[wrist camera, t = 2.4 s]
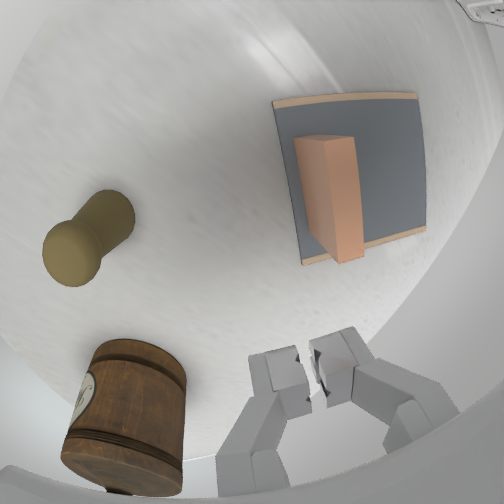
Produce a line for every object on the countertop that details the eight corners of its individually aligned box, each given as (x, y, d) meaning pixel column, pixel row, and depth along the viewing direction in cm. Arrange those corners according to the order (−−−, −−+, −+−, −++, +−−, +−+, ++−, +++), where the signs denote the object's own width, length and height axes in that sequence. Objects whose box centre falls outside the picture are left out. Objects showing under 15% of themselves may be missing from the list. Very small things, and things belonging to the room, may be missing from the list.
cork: (130, 185, 25) (85, 218, 15) (139, 241, 28) (106, 297, 18) (80, 194, 25) (22, 230, 15) (91, 246, 27) (46, 300, 17)
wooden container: (81, 333, 32) (29, 468, 12) (182, 341, 34) (174, 505, 14) (107, 396, 38) (86, 506, 18) (190, 403, 40) (192, 524, 20)
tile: (316, 134, 25) (353, 136, 18) (329, 225, 30) (364, 256, 22) (293, 137, 25) (323, 141, 18) (308, 230, 29) (338, 264, 22)
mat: (414, 93, 24) (417, 92, 24) (423, 229, 32) (425, 230, 32) (271, 101, 24) (272, 101, 23) (301, 263, 32) (302, 266, 31)
